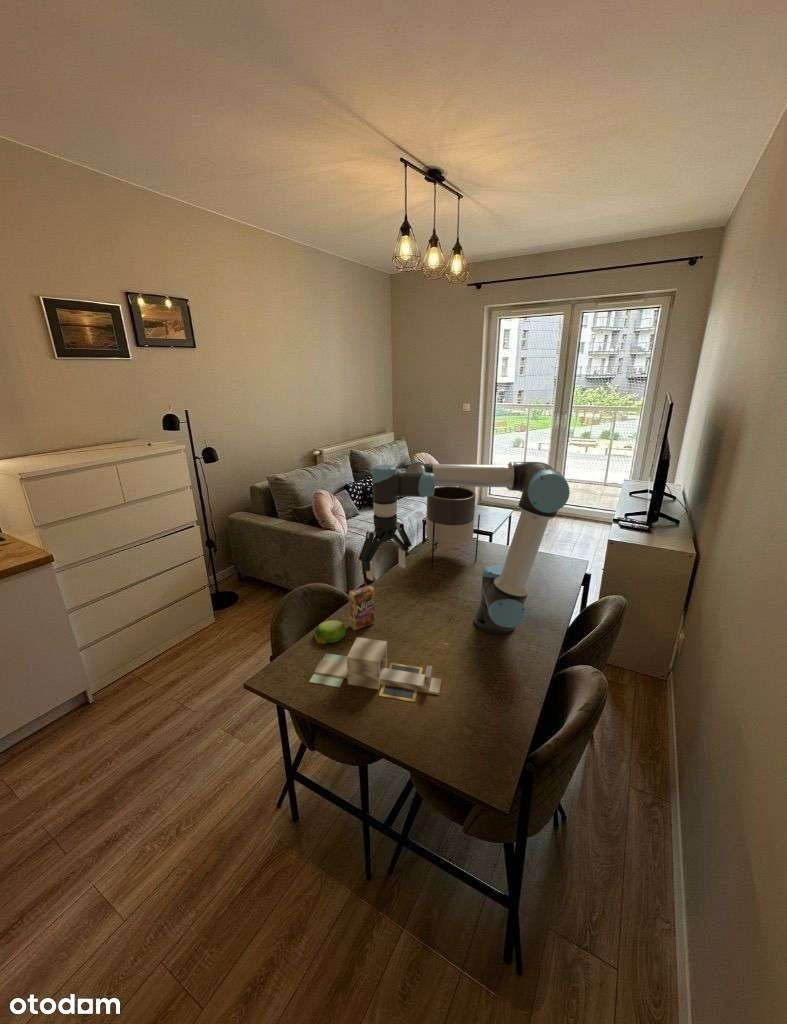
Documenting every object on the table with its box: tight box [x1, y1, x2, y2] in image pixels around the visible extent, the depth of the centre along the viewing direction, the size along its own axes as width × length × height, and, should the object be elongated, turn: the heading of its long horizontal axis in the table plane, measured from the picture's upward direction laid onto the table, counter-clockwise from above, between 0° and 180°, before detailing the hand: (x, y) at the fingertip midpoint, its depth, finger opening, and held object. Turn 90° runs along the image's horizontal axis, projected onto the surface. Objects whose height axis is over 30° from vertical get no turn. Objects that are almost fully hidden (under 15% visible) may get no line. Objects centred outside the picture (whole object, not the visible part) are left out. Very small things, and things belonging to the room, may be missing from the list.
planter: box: [425, 486, 481, 569], centre depth 206 cm, size 26×25×35 cm
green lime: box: [314, 619, 346, 645], centre depth 151 cm, size 12×11×5 cm
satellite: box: [308, 637, 442, 703], centre depth 130 cm, size 40×15×10 cm, turn 77°
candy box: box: [348, 584, 375, 631], centre depth 156 cm, size 9×4×15 cm, turn 123°
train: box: [380, 665, 433, 690], centre depth 129 cm, size 24×6×7 cm, turn 77°
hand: (386, 572), depth 141 cm, fingers open, 13 cm apart
